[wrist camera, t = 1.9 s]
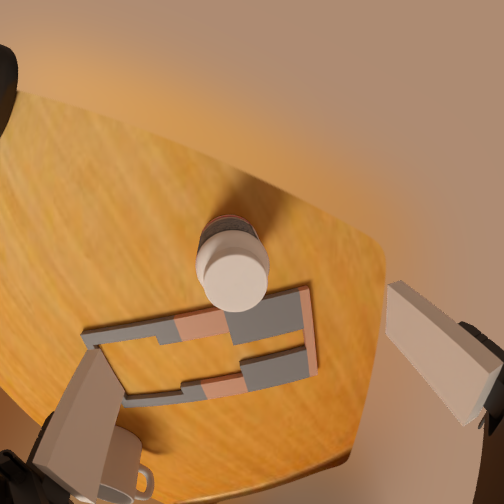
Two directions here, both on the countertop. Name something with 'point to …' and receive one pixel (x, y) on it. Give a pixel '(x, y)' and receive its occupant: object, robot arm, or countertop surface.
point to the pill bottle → (232, 264)
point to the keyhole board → (242, 331)
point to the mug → (124, 470)
